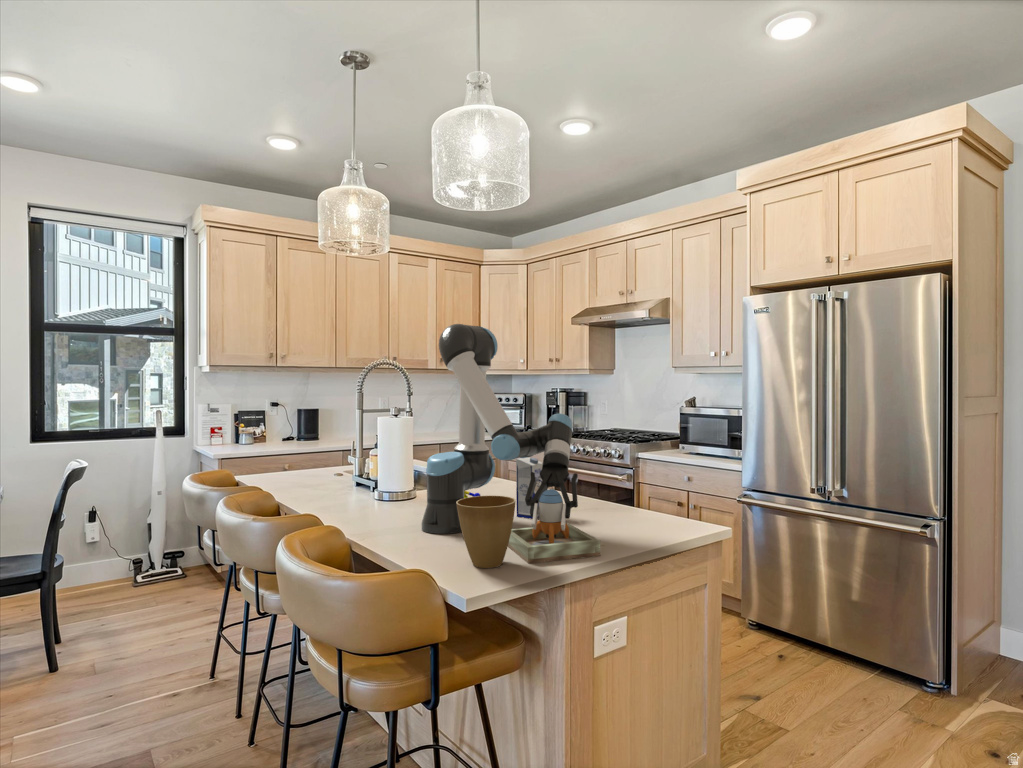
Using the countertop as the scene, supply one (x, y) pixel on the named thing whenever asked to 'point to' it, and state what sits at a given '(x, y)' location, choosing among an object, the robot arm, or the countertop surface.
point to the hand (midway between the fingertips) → (548, 527)
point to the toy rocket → (550, 516)
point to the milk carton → (526, 483)
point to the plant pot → (486, 527)
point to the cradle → (553, 545)
